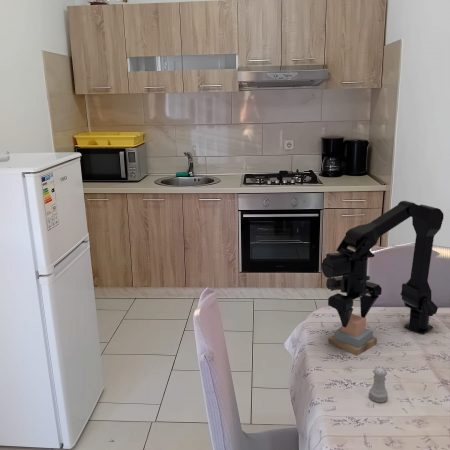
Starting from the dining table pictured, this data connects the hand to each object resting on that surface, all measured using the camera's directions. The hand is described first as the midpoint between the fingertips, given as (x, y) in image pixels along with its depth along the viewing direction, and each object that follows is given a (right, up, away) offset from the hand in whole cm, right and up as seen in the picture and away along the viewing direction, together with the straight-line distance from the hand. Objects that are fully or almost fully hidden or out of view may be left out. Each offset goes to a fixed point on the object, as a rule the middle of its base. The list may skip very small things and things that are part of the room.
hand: (353, 322), depth 139 cm
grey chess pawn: (-1, -14, -24) cm, 28 cm away
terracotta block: (0, -3, +1) cm, 3 cm away
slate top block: (0, -5, +1) cm, 5 cm away
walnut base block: (0, -8, +2) cm, 8 cm away
